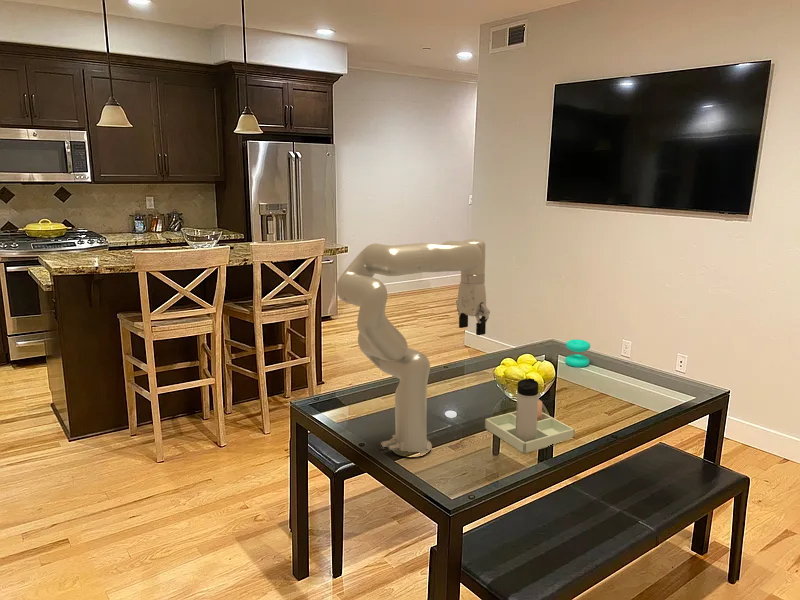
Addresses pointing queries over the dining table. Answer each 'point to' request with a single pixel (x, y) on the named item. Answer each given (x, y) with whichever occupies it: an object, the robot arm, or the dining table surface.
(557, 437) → the carrier
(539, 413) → the peach rounded capsule
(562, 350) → the dining table surface
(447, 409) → the dining table surface
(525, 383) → the travel mug
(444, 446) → the dining table surface
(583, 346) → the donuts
